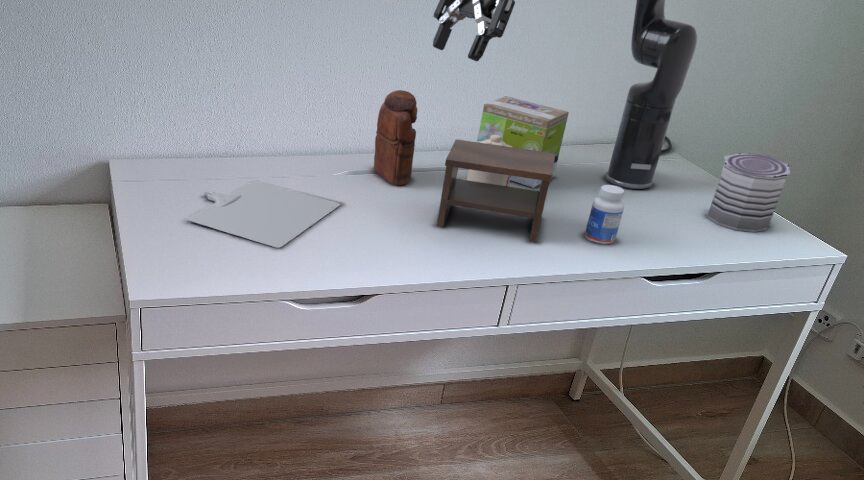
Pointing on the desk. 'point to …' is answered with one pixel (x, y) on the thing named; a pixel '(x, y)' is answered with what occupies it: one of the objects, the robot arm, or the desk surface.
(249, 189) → the grey clipboard
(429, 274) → the desk surface
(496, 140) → the teacup with lid
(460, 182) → the walnut stand
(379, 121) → the wooden figurine
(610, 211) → the pill bottle
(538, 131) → the tea box
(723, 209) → the can
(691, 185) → the desk surface
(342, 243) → the desk surface
